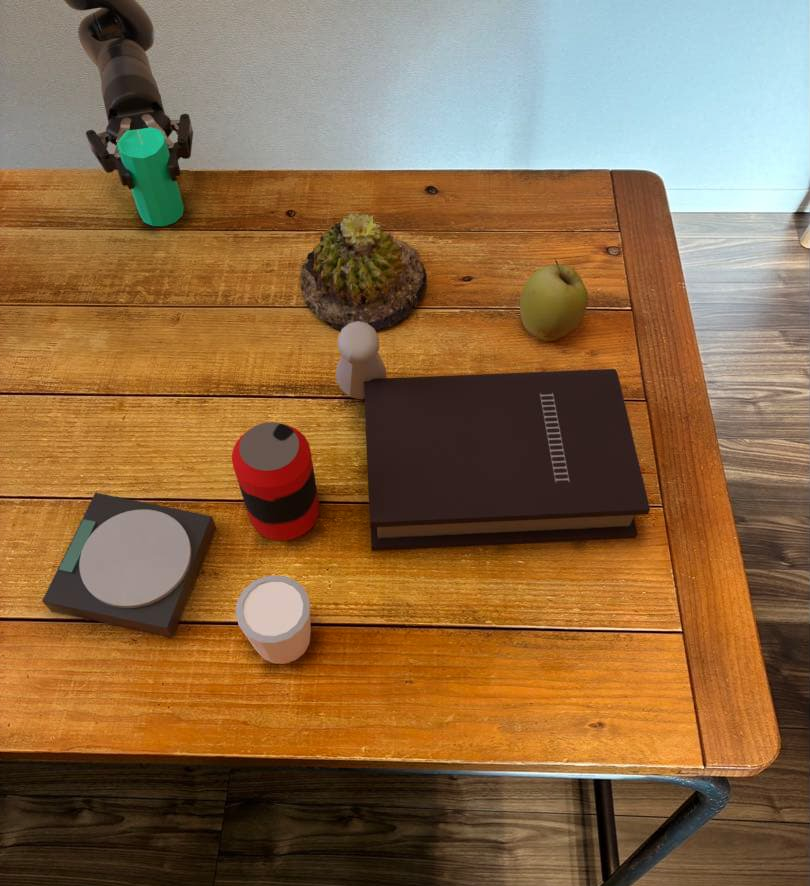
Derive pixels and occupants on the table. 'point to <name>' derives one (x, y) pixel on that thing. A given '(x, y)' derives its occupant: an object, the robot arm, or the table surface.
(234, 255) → the table surface
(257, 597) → the yogurt cup
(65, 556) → the kitchen scale
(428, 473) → the book
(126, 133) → the candle
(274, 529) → the soda can
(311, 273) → the cactus
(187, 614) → the table surface
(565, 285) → the apple
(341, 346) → the salt shaker
